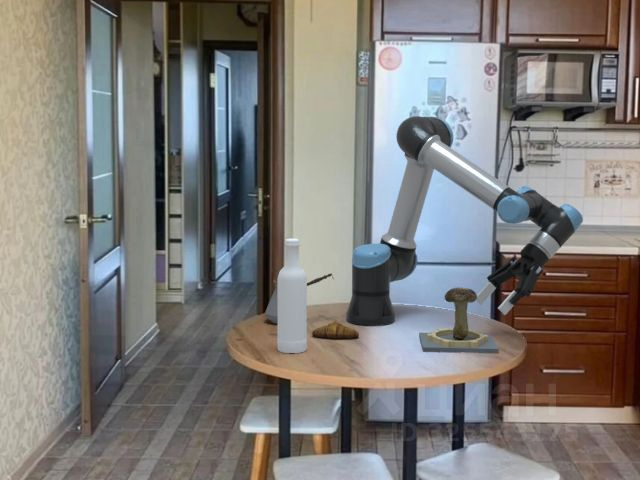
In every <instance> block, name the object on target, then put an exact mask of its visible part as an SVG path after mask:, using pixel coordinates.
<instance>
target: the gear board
mask: <svg viewBox="0 0 640 480" xmlns="http://www.w3.org/2000/svg"><path fill="white" fill-rule="evenodd" d="M453 329H454V328H437V330H435V331H433V332H419V333H418V334H419V335H418V337H419V342H420V346H421V350H422V352H423V353H425V352H426V353H461V352H478V353H477V354H499V352H500V351H499V350H500V349H499V347H498V345H497V343H496V342H495V340H494V338H493V337H492V335H491V333H481V332H478V331H476V330H473V329H469V328H468V335H467V337H465V339H464V340H462V341H457V340H455V339H454V338H453Z"/></svg>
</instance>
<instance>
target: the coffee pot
mask: <svg viewBox="0 0 640 480" xmlns="http://www.w3.org/2000/svg"><path fill="white" fill-rule="evenodd" d="M329 277H332V280H335V278H334V275H333V273H328V274H327V275H325V274H324V275H323V276H320V277H317V278H315V279H313V280H311V281H309V282H308V281H307V287H309V286H312V285H314V284H317V283H320V282H321V281H323V280H327V278H329ZM272 282H273V284H274V286H275V288H274V290H273V293H272V295H271V297H270V299H269V302H268V305H267V306H266V307H267V308H266V309H265V312H264V315H265V316H266V318H267V319H268V320H269V321H270V322H271V323H272V324H276V325H278V299H277V279H274V280H273V281H272Z"/></svg>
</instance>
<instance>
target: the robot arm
mask: <svg viewBox="0 0 640 480" xmlns="http://www.w3.org/2000/svg"><path fill="white" fill-rule="evenodd" d="M396 131H397V132H396V142H397V145H398V147H399V149H400V150H401V151H402V152H403V153H404V157H405V159H406V162H407V163H406V166H405V170H404V173H403V178H402V180H401V183H400V187H399V190H398V194H397V199H396V201H395V205H394V209H393V212H392V216H391V218H390V219H391V220H390V223H389V227H388V230H387V232H386V233H384V234H382V235H381V237H380V241H379V243H369V244H363V245H362V244H361V245H359V246H357V247H355V249H354V250H353V251H352V259H351V263H352V266H351V267H352V270H351V271H352V276H351V279H352V281H351V282H352V284H351V286H352V289H351V295H352V296H351V298H350V301H349V303H348V307H347V310H346V317H345V318H346V320H345V321H346V322H348V323H351V324H354V325H360V326H372V327H373V326H374V327H375V326H385V325H390V324H393V323H394V322H395V321H396V313H395V311H394V310H395V309H394V307H393V304H392V301H391V300H392V299H391V296H390V295H391V294H390V291H391V288H390V287H391V283H393V282H398V281H401V280H404V279H406V278H408V277H409V276H410V275H412V274H413V273H414V272H415V270H416V268H417V266H418V255H417V252H416V250H417V246H418V245H417V243H416V242H415V236H416V232H417V230H418V226H419V222H420V219H421V215H422V211H423V209H424V205H425V202H426V198H427V195H428V191H429V188H430V184H431V180H432V177H433V174H434V170H436V171H437V172H438V173H440V174H441V175H442V176H443V177H445V178H447V179H448V180H449V181H451V182H453V183H454V184H456V185H457V186H459V187H460V188H461V189H463V190H464V191H466V192H467V193H469V194H470V195H472V196H473V197H475V198H476V199H478V201H481V202H482V203H483V204H485V205H486V206H488V207H489V208H490V209H492V210H494V211H495V212H497V216H498V217H499V219H500V220H501V221H502V222H504V223H507V224H510V225H514V224H516V225H517V224H521V223H523V222H527V221H531V222H532V223H533V224H535V225H536V226H537V227H539V228H540V229H539V230H538V231H537V232H536V233H535V234H534V236H533V237H532V238H531V239H530V240H529V243H526V245H524V247H523V248H522V249H521V250H520V251H519V253H520V258H519V259H516V258H515V257H511V258H510V259H509V260H508V261H507V262H506V263H504V264H503V265H502V266H501V267H499V268H498V269H496V270H495V271H493V272H492V273H491V274H490V275H488V276H487V277H486V279H487V280H488V282H487V283H486V284H485V286H484V287H483V288H482V289H481V290H480V291H479V292H478V293H477V294H476V295H477V299H476V300H475V301H476V302H477V303H478V304H479V305H482V304H484V303H485V301H486V300H487V299H488V298H490V296H491V295H492V294H493V293H494V292H495V290H497V287H498V286H499V285H501V284H503V283H505V282H506V281H508V280H510V279H512V278H514V279H515V278H518V281H517V282H518V283H517V285H516V286H517V287H516V288H514V290H512V292H511V293H509V295H508V296H506V298H505V299H504V300H503V302H502V303H501V304H500V305H499V306H498V307H497V309H498V310H499V311H500V312H501V314H503V315H504V316H506V315H507V314H508V313H509V311H511V309H512V308H513V307H514V306H515V305H516V304H517V303H518V302H519V301H520V300H521V299H522V298H524V297H526V298H529V297H530V296H531V294H532V292H533V290H534V288H535V286H536V284H537V282H538V279H539V277H540V276H541V274H542V273H543V272H544V270H543V268H544V267H545V265H546V264H547V263H549V259H552V258H553V256H555V255H556V253H557V252H558V251H559V249H561V248H562V247H563V245H565V243H566V242H567V241H568V240H569V239H570V238H571V237H572V236H573V235H574V234H575V233H576V232H577V229H578V228H579V227H580V226H581V225H582V223H583V221H584V218H583V215H582V214H581V212H580V211H579V210H578V209H577V208H576V207H574V206H573V205H571V204H569V203H563V204H561V206H557V205H555V204H554V203H552V202H551V201H549V200H548V199H547V198H546V197H544V196H543V195H541V194H540V193H538V192H537V190H535V189H533V188H531V187H530V186H528V185H522V186H521V187H520V188H518V189H517V190H515V189H513V188H512V187H510V186H509V185H507V184H506V183H504V182H502V181H501V180H499V179H497V178H496V177H495V176H493V175H492V174H491V173H489V172H487V171H486V170H484V169H483V168H481V167H480V166H478V165H477V164H476V163H474V162H472V161H471V160H470V159H468V158H466V157H465V156H463V155H462V154H460V153H459V152H458V151H456V150H454V149H453V148H452V146H453V142H454V133H453V130H452V128H451V125H450V124H449V123H448V122H447V121H446V120H444V119H442V118H439V117H435V116H415V115H414V116H410V117H407V118H406V119H405V120H403V121H402V122H401V123H400V125H398V128H397V130H396ZM482 306H483V305H482Z"/></svg>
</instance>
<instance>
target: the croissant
mask: <svg viewBox="0 0 640 480" xmlns="http://www.w3.org/2000/svg"><path fill="white" fill-rule="evenodd" d="M311 335H312V337H315V338H318V339H319V338H320V339H331V340H340V339H341V340H342V339H343V340H347V339H348V340H349V339H350V340H351V339H358V338H359V336H360V333H359V331H357V330H355V329H354V328H352V327H349V326H346V325H344V324H342V323H340V322H337V321H336V320H335V321H333V322H330V323H328V324H326V325H324V326H320V327H317V328H315V329H314V330H312V331H311Z"/></svg>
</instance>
